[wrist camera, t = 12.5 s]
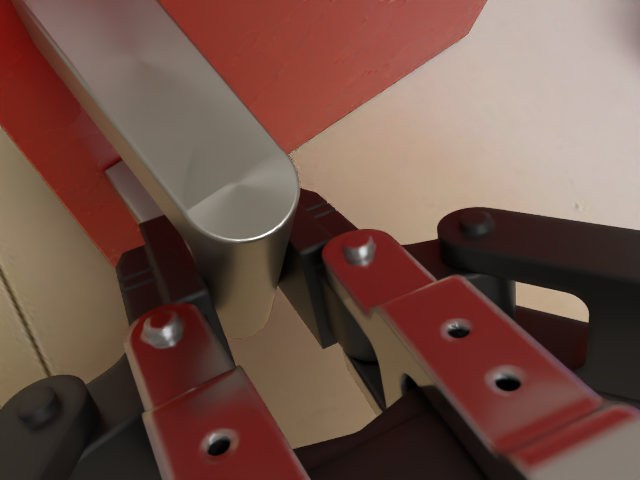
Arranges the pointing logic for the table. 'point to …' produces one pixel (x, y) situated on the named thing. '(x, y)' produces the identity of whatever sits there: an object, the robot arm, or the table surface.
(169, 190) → the door
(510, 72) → the table surface
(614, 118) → the table surface
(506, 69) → the table surface
